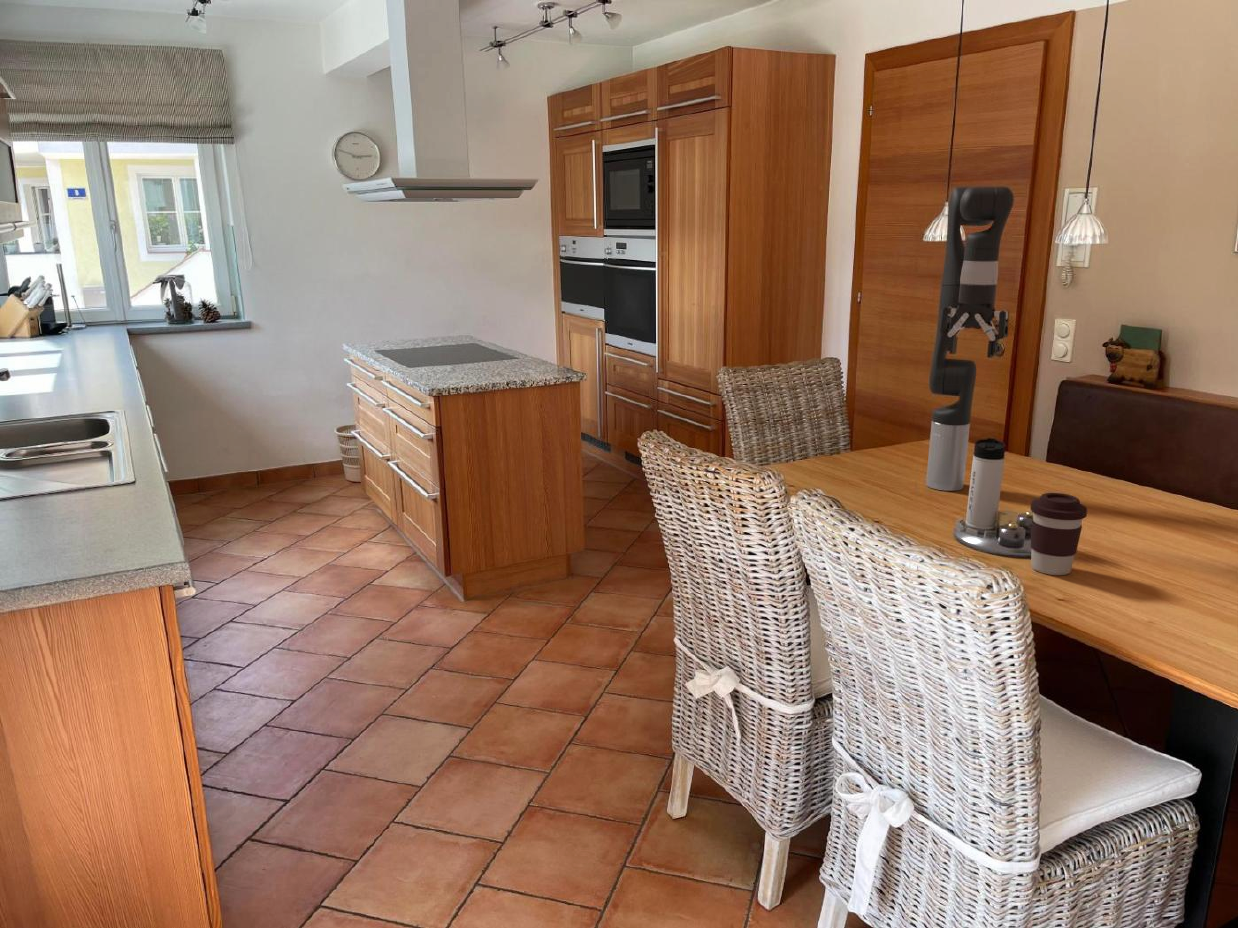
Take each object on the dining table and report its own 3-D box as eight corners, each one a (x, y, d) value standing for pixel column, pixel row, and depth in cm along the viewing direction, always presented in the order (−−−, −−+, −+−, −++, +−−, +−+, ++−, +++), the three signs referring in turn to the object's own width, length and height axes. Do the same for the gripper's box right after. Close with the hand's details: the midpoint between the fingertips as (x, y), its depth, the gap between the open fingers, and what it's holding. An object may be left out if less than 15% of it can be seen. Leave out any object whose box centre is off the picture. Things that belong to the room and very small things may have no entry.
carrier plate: (975, 518, 210) (978, 492, 208) (1071, 539, 196) (1075, 512, 194) (936, 541, 195) (939, 513, 193) (1038, 565, 181) (1042, 536, 179)
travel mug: (996, 526, 200) (1007, 439, 195) (994, 535, 194) (1005, 446, 189) (966, 522, 203) (976, 436, 197) (963, 531, 197) (973, 442, 192)
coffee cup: (1015, 560, 184) (1024, 489, 180) (1064, 560, 184) (1074, 490, 180) (1035, 578, 174) (1045, 504, 170) (1087, 579, 174) (1098, 505, 170)
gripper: (1018, 282, 195) (1009, 356, 200) (953, 279, 204) (947, 350, 209) (1005, 284, 190) (996, 361, 194) (939, 281, 199) (933, 354, 204)
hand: (971, 355), depth 202 cm, fingers open, 8 cm apart
